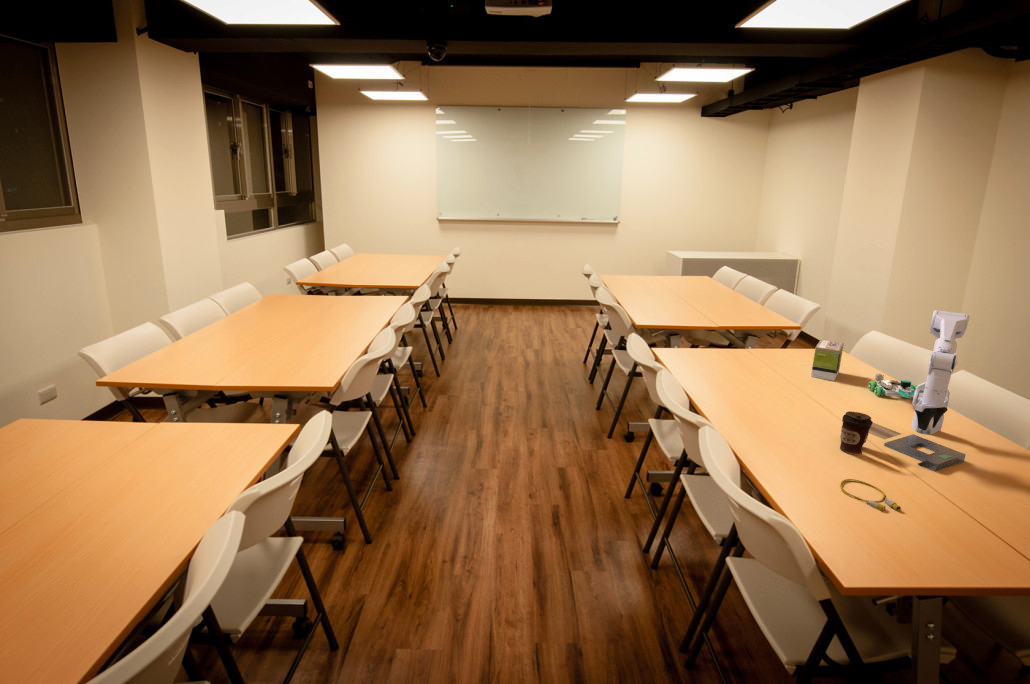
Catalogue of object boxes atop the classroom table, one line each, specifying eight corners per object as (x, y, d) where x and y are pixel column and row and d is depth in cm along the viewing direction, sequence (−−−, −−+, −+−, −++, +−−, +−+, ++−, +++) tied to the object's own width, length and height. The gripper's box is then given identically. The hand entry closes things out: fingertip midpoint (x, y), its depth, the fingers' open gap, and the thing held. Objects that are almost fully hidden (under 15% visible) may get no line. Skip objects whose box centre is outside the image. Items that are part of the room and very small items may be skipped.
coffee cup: (854, 459, 179) (862, 422, 175) (830, 448, 186) (837, 412, 182) (870, 453, 182) (878, 417, 179) (846, 443, 190) (853, 408, 186)
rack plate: (911, 440, 192) (913, 433, 191) (963, 461, 178) (965, 454, 178) (883, 449, 185) (884, 442, 185) (935, 471, 172) (937, 464, 171)
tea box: (815, 368, 265) (820, 338, 261) (839, 372, 260) (844, 342, 256) (810, 376, 254) (815, 346, 250) (834, 381, 248) (840, 350, 244)
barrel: (921, 429, 183) (923, 412, 182) (934, 433, 180) (937, 416, 178) (913, 431, 182) (916, 413, 180) (926, 435, 178) (929, 418, 177)
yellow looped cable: (853, 510, 152) (854, 503, 151) (833, 480, 167) (834, 474, 166) (902, 515, 150) (904, 508, 149) (877, 485, 165) (878, 479, 164)
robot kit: (888, 408, 220) (893, 386, 217) (863, 386, 243) (867, 366, 241) (940, 413, 216) (946, 391, 214) (910, 390, 240) (915, 370, 237)
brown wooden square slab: (872, 426, 203) (873, 422, 202) (900, 437, 194) (901, 433, 194) (855, 431, 199) (855, 427, 198) (883, 443, 190) (884, 439, 190)
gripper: (935, 381, 183) (926, 419, 186) (908, 387, 177) (899, 426, 180) (959, 388, 176) (949, 427, 180) (932, 395, 170) (923, 435, 174)
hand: (926, 427), depth 180 cm, fingers closed on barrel, 4 cm apart
